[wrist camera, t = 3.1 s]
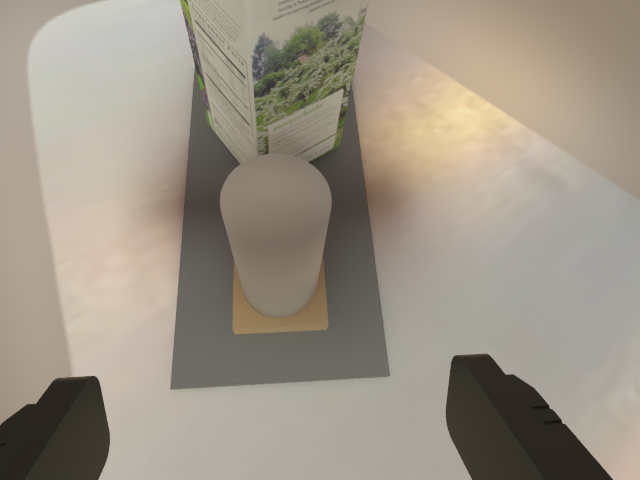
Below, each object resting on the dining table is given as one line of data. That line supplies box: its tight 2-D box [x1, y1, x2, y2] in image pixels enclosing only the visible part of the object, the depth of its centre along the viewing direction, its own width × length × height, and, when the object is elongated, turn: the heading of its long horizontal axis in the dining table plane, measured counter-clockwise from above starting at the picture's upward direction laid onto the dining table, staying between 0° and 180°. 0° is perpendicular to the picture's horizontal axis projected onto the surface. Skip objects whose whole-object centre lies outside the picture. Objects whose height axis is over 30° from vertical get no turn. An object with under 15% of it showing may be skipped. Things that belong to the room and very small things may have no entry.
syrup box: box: [180, 0, 368, 164], centre depth 20 cm, size 6×6×14 cm
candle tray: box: [171, 67, 390, 389], centre depth 21 cm, size 10×20×9 cm, turn 4°
